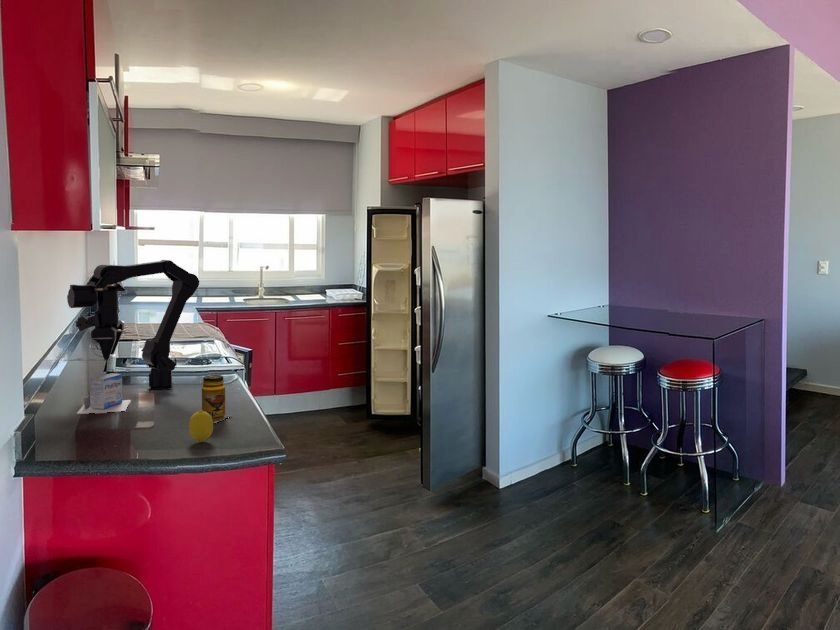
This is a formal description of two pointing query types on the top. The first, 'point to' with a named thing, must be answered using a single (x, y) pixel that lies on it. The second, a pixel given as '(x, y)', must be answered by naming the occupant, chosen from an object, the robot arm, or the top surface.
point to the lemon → (201, 425)
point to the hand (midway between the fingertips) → (109, 357)
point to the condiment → (214, 397)
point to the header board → (87, 409)
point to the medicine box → (105, 391)
